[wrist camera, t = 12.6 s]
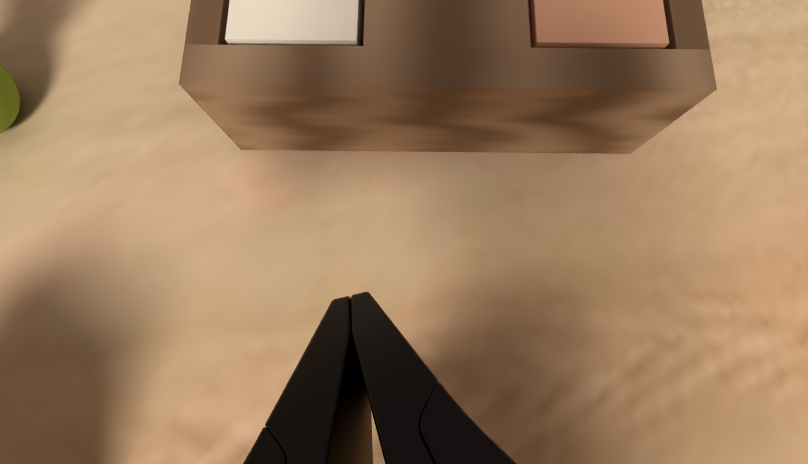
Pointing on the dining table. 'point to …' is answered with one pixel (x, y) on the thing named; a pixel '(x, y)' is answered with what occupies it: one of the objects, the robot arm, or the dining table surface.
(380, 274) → the dining table surface
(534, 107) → the brown striped box
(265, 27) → the white box
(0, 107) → the snail figurine
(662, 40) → the salmon pink block
